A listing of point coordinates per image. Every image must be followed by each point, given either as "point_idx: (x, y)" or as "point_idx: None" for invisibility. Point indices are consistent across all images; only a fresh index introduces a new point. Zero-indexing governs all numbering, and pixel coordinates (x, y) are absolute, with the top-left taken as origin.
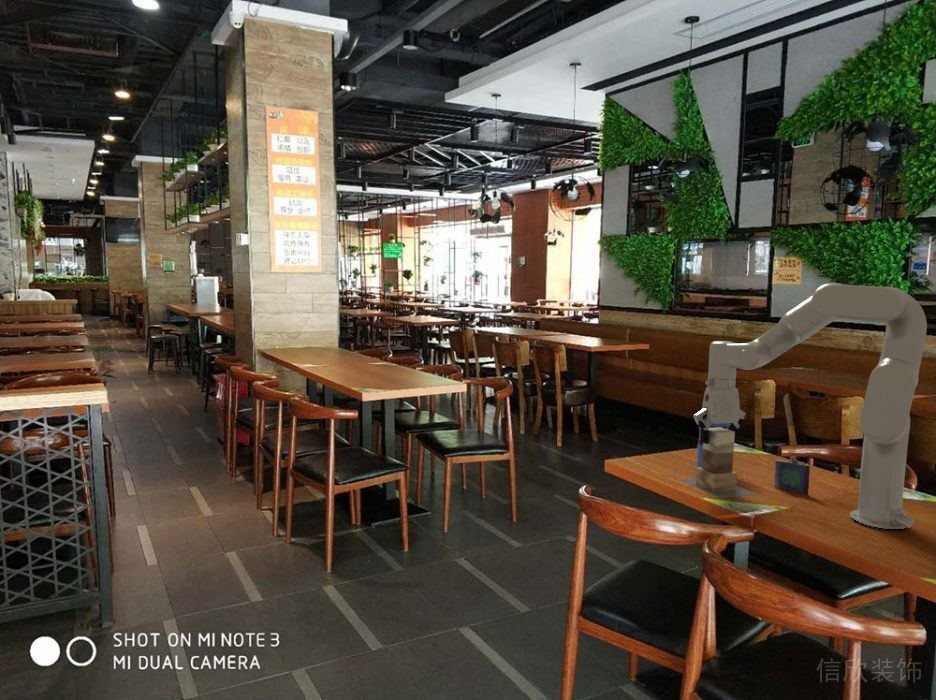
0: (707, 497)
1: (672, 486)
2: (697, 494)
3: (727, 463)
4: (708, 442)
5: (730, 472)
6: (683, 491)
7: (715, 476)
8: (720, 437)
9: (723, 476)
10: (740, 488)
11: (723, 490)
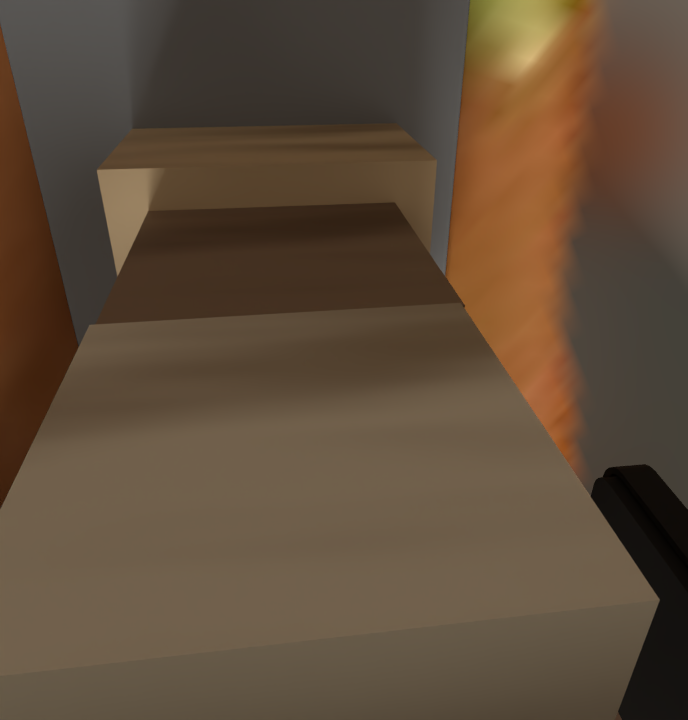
0: (487, 71)
1: (537, 371)
2: (506, 168)
3: (222, 248)
4: (636, 478)
5: (174, 210)
6: (551, 259)
7: (417, 156)
8: (486, 500)
9: (305, 158)
10: (66, 156)
11: (286, 126)
